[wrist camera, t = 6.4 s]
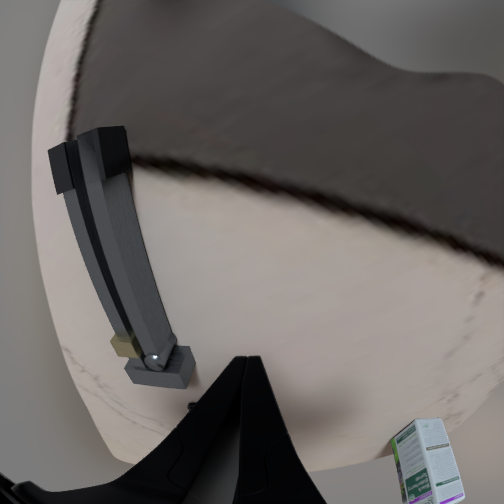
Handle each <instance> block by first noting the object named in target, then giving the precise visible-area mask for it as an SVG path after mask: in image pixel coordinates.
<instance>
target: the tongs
mask: <svg viewBox="0 0 504 504" xmlns="http://www.w3.org/2000/svg"><path fill="white" fill-rule="evenodd" d="M48 155H49V160H50V165H51V170H52V175H53V179H54V184H55V188H56V192H57V195H58V194H61V193H63V195H64V199H65V203H66V206H67V210H68V213H69V217H70V220H71V224H72V227H73V230H74V233H75V236H76V239H77V242H78V245H79V248H80V251H81V254H82V257H83V259H84V262H85V265H86V267H87V270H88V273H89V275H90V278H91V280H92V283H93V285H94V288H95V290H96V292H97V295H98V297H99V299H100V301H101V304H102V306H103V308H104V310H105V312H106V315H107V317H108V319H109V321H110V323H111V325H112V327H113V329H114V331H115V335H114V336H113V337H112V339H111V340H110V342H111V344H112V346H113V348H114V349H115V351H116V353H117V355H118V356H120V357H128V358H129V361H128V362H127V364H126V366H125V368H124V369H125V371H126V372H127V374H128V376H129V377H130V379H131V380H132V382H133V383H134V384H141V385H149V386H157V387H166V388H176V389H187V386H188V383H189V380H190V377H191V374H192V371H193V368H194V365H195V360H194V357H193V355H192V352H191V350H190V347H189V346H173V349H172V351H171V353H170V355H169V358H168V360H167V362H166V364H165V367H164V369H163V370H161V371H156V370H153V369H151V368H149V367H148V366H147V365H146V363H145V358H146V356H147V355H145V354H144V352H143V350H142V347H141V345H140V343H139V341H138V339H137V337H136V334H135V332H134V330H133V328H132V325H131V323H130V321H129V318H128V316H127V314H126V311H125V309H124V306H123V304H122V301H121V299H120V296H119V294H118V291H117V288H116V286H115V283H114V280H113V278H112V275H111V272H110V269H109V266H108V263H107V260H106V257H105V254H104V251H103V248H102V245H101V241H100V238H99V235H98V231H97V228H96V224H95V220H94V217H93V213H92V209H91V205H90V201H89V197H88V193H87V188H86V184H85V179H84V174H83V169H82V164H81V158H80V153H79V147H78V140H74V141H68V142H63V143H61V144H59V145H57V146H55V147H53V148H51V149H49V150H48Z"/></svg>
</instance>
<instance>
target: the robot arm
mask: <svg viewBox="0 0 504 504" xmlns="http://www.w3.org/2000/svg"><path fill="white" fill-rule="evenodd" d="M188 409H189V412H188V413H187V415H186V416H185V417H184V418H183V419H182V420H181V421H180V423H179V424H178V425H177V426H176V427H177V428H174V429H173V430H172V431H171V433H170V434H169V435H168V436H167V437H166V438H165V439H164V440H163V441H162V442H161V443H160V444H159V445H158V446H157V447H156V448H155V449H154V450H153V451H151V452H150V453H149V454H148V455H147V456H146V457H145V458H143V459H142V460H141V461H140V462H138V463H137V464H136V465H135V466H133V467H132V468H131V469H130V470H128V471H127V472H126V473H125V474H124V475H122V476H121V477H119V478H117V479H116V480H114V481H111V482H109V483H106V484H102V485H97V486H92V487H87V488H81V489H75V490H69V491H61V492H49V491H46V490H44V489H42V488H41V487H39V486H38V485H36V484H34V483H33V482H31V481H25V482H21V483H18V484H15V483H14V482H13V481H11V480H10V479H8V478H7V477H6V476H4V475H3V474H2V473H0V504H327V503H326V501H325V500H324V499H323V497H322V495H321V494H320V492H319V491H318V490H317V487H316V486H315V484H314V483H313V481H312V479H311V478H310V476H309V475H308V473H307V471H306V470H305V468H304V466H303V464H302V463H301V461H300V459H299V457H298V455H297V453H296V450H295V448H294V446H293V444H292V441H291V438H290V436H289V434H288V431H287V428H286V425H285V423H284V420H283V417H282V415H281V412H280V409H279V406H278V404H277V401H276V398H275V395H274V393H273V390H272V387H271V384H270V382H269V379H268V376H267V373H266V370H265V368H264V365H263V362H262V359H261V357H260V356H248V357H247V356H236V357H234V358H233V359H232V361H231V362H230V363H229V364H228V366H227V367H226V368H225V369H224V371H223V372H222V373H221V374H220V376H219V377H218V378H217V379H216V380H215V382H214V383H213V384H212V385H211V386H210V388H209V389H208V390H207V391H206V392H205V394H204V395H203V396H202V397H201V398H200V399H199V401H198V402H197V403H189V404H188Z"/></svg>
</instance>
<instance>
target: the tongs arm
mask: <svg viewBox="0 0 504 504" xmlns="http://www.w3.org/2000/svg"><path fill="white" fill-rule="evenodd" d="M77 140H78V147H79V153H80V158H81V164H82V169H83V174H84V179H85V184H86V188H87V193H88V197H89V201H90V205H91V209H92V213H93V217H94V220H95V224H96V228H97V231H98V235H99V238H100V241H101V245H102V248H103V251H104V254H105V257H106V260H107V263H108V266H109V269H110V272H111V275H112V278H113V280H114V283H115V286H116V288H117V291H118V294H119V296H120V299H121V301H122V304H123V306H124V309H125V311H126V314H127V316H128V318H129V321H130V323H131V325H132V328H133V330H134V332H135V334H136V337H137V339H138V341H139V343H140V345H141V347H142V350H143V352H144V354H145V355H147V356H146V358H145V363H146V365H147V366H148V367H149V368H151V369H153V370H156V371H161V370H163V369H164V367H165V364H166V362H167V360H168V358H169V355H170V353H171V351H172V349H173V346H174V344H175V342H176V337H175V335H174V334H173V333H172V332H171V329H170V326H169V324H168V321H167V318H166V315H165V312H164V309H163V306H162V303H161V300H160V297H159V294H158V291H157V288H156V285H155V282H154V279H153V275H152V272H151V269H150V265H149V262H148V259H147V255H146V252H145V248H144V244H143V241H142V237H141V233H140V229H139V225H138V221H137V217H136V213H135V209H134V204H133V200H132V195H131V191H130V186H129V181H128V176H127V172H128V171H130V170H131V165H130V159H129V153H128V147H127V141H126V135H125V128H124V126H113V127H100V128H95V129H93V130H90V131H88V132H85V133H83V134H80V135H78V136H77Z"/></svg>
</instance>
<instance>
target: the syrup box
mask: <svg viewBox="0 0 504 504" xmlns="http://www.w3.org/2000/svg"><path fill="white" fill-rule="evenodd" d="M391 444H392V448H393V453H394V457H395V462H396V467H397V472H398V477H399V482H400V488H401V494H402V501H403V504H457V503H459V502H460V501H462V500H463V499H464V498H465V494H464V490H463V485H462V482H461V478H460V474H459V470H458V467H457V464H456V460H455V457H454V454H453V451H452V447H451V445H450V442H449V438H448V436H447V433H446V430H445V427H444V424H443V422H442V419H441V418H425V419H415V420H414V421H413V422H412V423H411V424H410V425H409V426H408V427H406V428H405V429H404V430H403V431H401V432H400V433H399V434H398V435H396V436H395V437H394V438H392V439H391Z"/></svg>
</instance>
